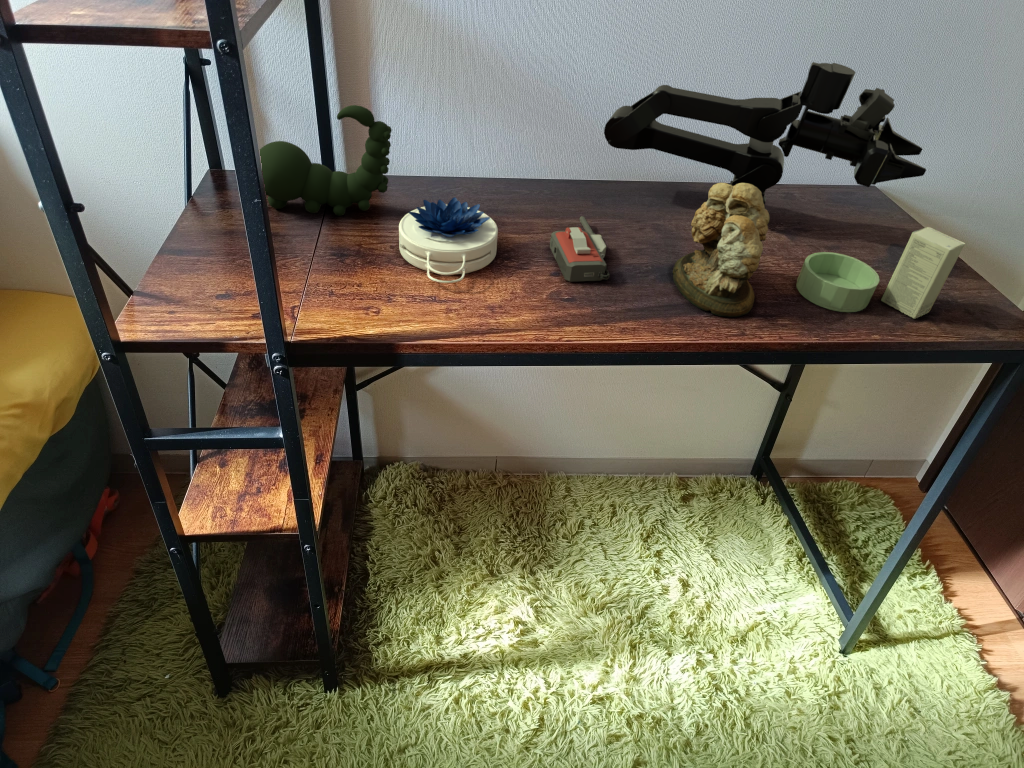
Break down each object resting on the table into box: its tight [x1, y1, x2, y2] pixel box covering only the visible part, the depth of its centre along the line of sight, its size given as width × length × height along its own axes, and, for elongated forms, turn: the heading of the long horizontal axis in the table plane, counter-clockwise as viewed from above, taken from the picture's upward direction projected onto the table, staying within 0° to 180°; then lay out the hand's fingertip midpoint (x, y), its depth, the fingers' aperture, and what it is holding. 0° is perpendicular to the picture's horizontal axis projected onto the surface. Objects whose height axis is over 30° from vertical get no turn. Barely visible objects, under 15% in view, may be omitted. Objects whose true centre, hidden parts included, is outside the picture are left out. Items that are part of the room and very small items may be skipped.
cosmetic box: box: [880, 226, 966, 320], centre depth 106 cm, size 6×4×12 cm
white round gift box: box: [398, 197, 499, 284], centre depth 108 cm, size 7×16×20 cm
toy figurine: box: [259, 104, 393, 217], centre depth 114 cm, size 9×19×25 cm
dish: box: [795, 251, 880, 313], centre depth 110 cm, size 11×11×4 cm
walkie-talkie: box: [549, 215, 611, 283], centre depth 113 cm, size 9×4×20 cm
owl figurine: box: [672, 182, 770, 318], centre depth 104 cm, size 18×12×17 cm, turn 11°
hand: (922, 161), depth 113 cm, fingers open, 9 cm apart
